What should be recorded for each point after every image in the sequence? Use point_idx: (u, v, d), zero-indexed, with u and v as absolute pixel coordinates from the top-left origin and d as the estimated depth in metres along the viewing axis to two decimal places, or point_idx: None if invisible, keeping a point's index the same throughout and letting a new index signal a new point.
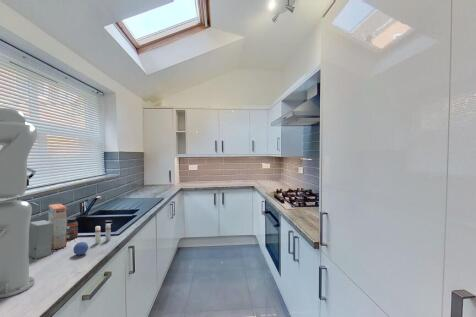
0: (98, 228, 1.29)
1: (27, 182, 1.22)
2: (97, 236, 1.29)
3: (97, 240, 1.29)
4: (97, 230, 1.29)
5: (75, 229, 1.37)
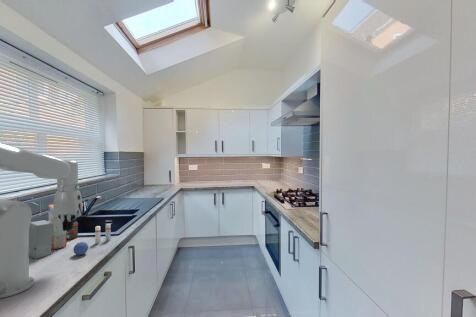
0: (98, 228, 1.29)
1: None
2: (97, 236, 1.29)
3: (97, 240, 1.29)
4: (97, 230, 1.29)
5: (75, 229, 1.37)
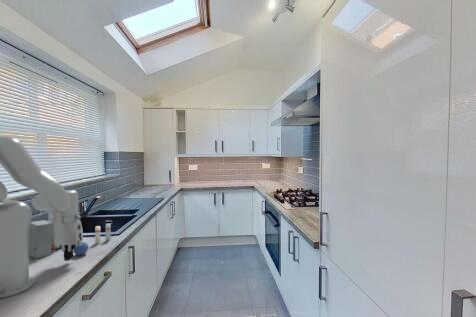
0: (98, 228, 1.29)
1: None
2: (97, 236, 1.29)
3: (97, 240, 1.29)
4: (97, 230, 1.29)
5: None
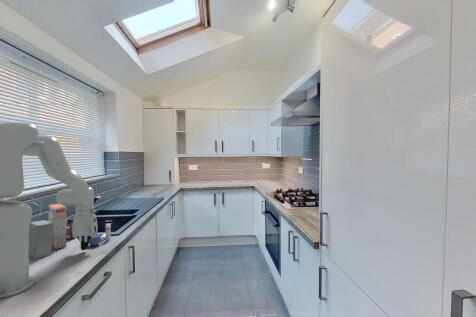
0: None
1: None
2: (103, 235, 1.36)
3: (101, 236, 1.34)
4: None
5: None
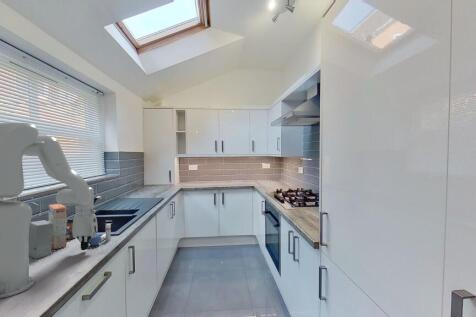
0: None
1: None
2: (103, 235, 1.36)
3: (101, 236, 1.34)
4: None
5: None
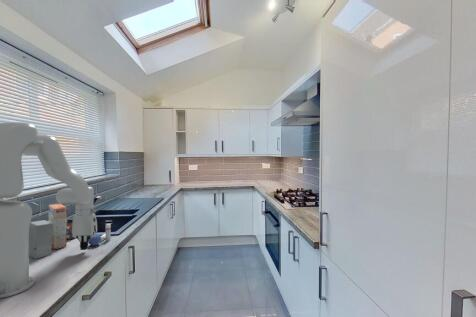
0: None
1: None
2: (103, 235, 1.36)
3: (101, 236, 1.34)
4: None
5: None
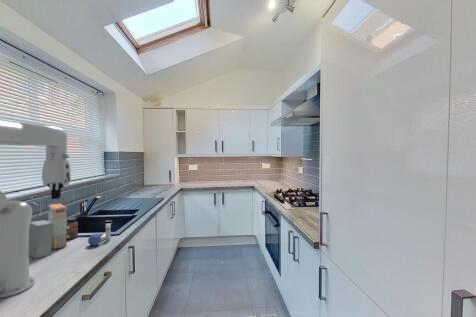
0: None
1: None
2: (103, 235, 1.36)
3: (101, 236, 1.34)
4: None
5: (75, 229, 1.37)
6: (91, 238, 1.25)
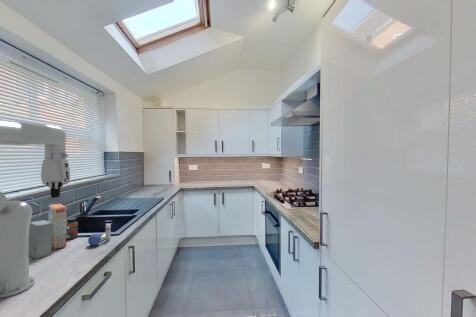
0: None
1: None
2: (103, 235, 1.36)
3: (101, 236, 1.34)
4: None
5: (75, 229, 1.37)
6: (91, 238, 1.25)
